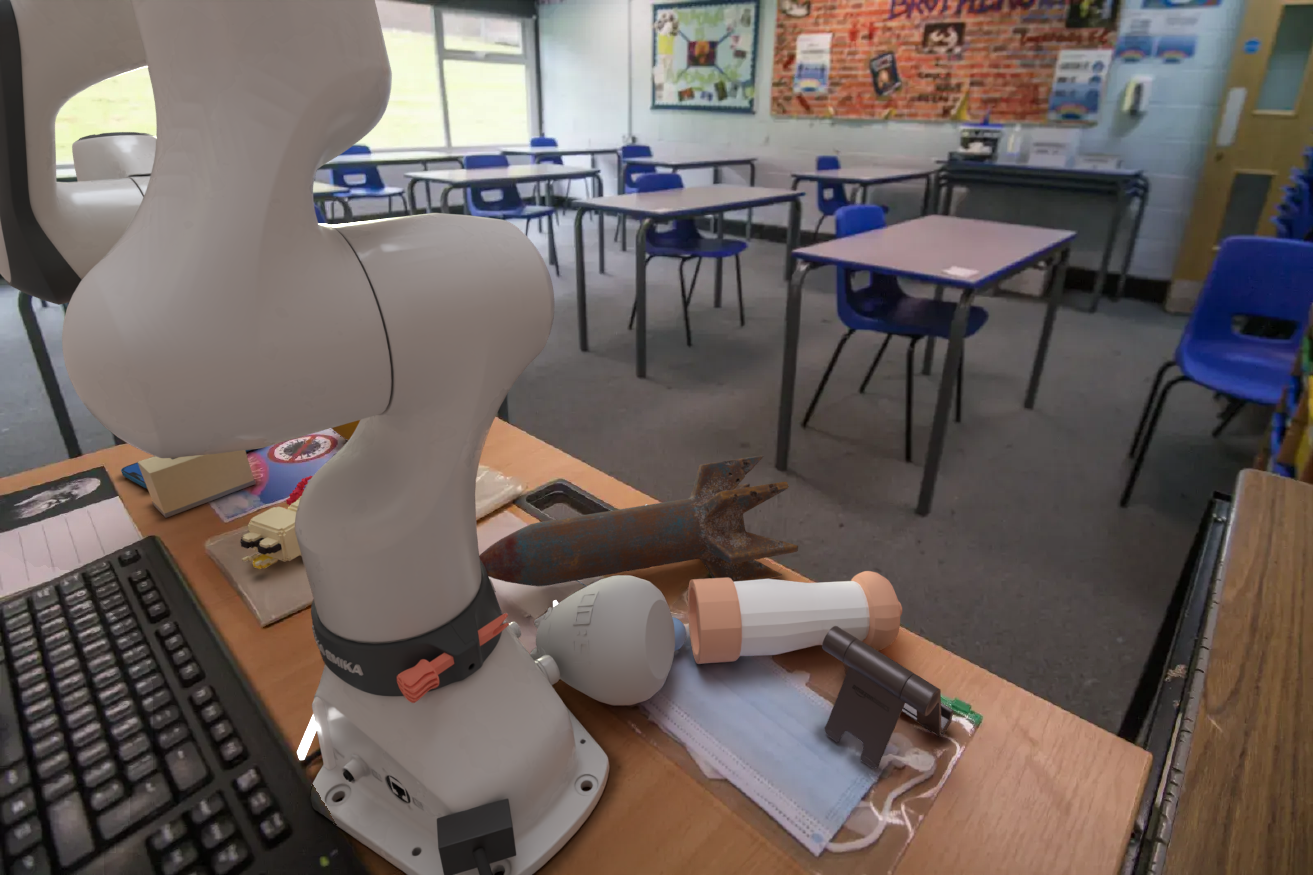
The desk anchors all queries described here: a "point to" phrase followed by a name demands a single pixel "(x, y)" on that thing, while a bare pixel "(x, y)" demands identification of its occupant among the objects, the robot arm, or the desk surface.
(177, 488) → the block
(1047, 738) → the desk surface
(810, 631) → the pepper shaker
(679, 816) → the desk surface
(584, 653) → the grey space capsule
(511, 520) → the desk surface
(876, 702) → the tablet stand
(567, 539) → the rusty missile
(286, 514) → the blocky cream chicken toy
